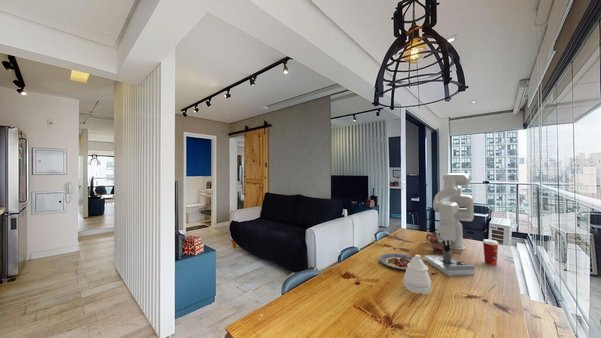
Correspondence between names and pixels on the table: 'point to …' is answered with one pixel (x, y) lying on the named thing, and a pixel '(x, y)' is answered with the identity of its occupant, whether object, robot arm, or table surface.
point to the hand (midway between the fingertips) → (446, 250)
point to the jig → (450, 266)
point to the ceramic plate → (396, 260)
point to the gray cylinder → (446, 257)
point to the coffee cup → (490, 251)
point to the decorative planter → (436, 243)
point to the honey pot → (417, 276)
